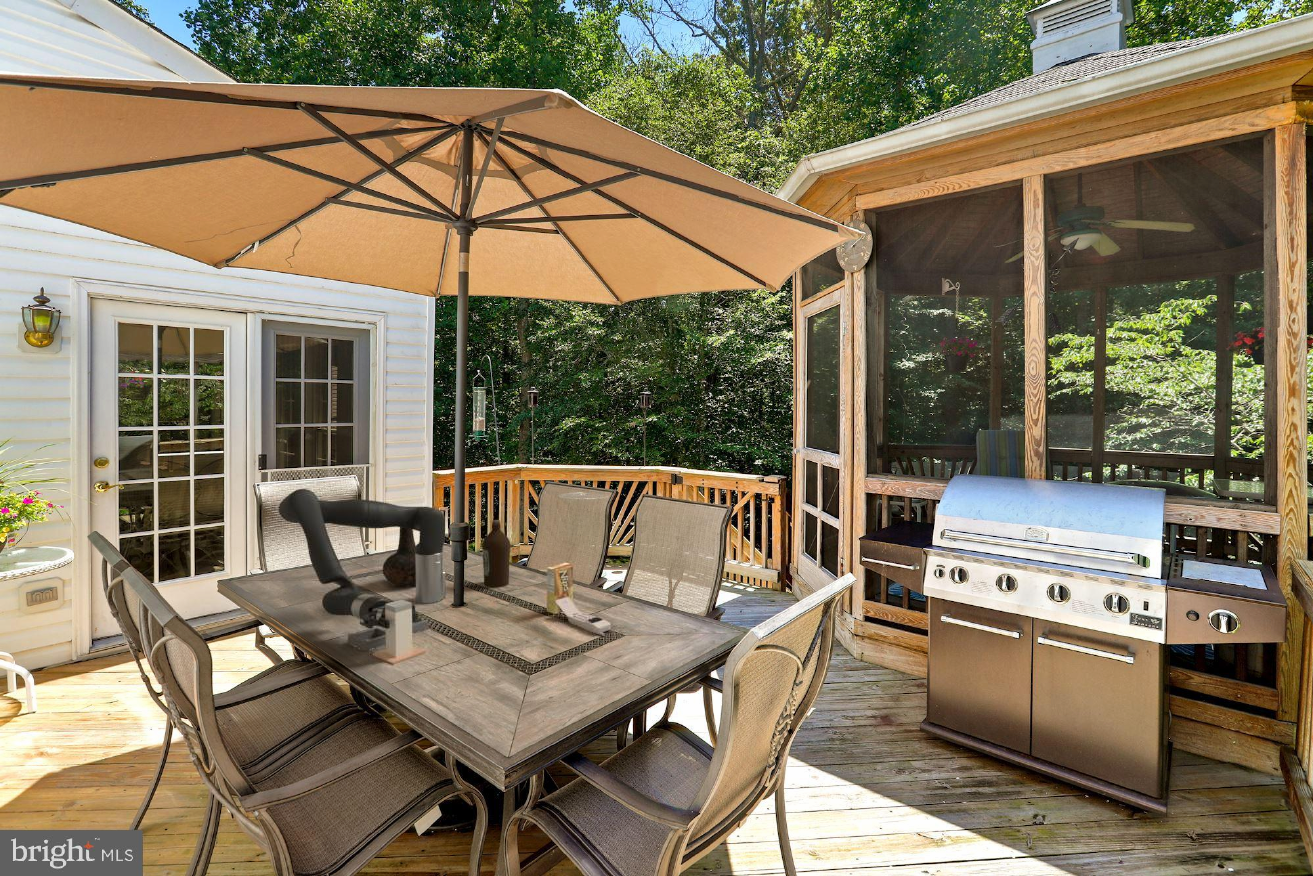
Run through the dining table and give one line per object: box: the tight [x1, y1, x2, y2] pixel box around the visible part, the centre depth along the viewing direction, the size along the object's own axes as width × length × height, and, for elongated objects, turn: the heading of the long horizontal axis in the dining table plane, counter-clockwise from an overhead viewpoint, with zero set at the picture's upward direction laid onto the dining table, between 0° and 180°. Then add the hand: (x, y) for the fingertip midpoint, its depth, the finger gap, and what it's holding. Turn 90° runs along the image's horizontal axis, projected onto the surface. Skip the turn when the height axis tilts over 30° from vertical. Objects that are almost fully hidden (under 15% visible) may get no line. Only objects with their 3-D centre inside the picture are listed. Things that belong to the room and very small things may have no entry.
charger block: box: [385, 599, 413, 657], centre depth 174 cm, size 5×5×14 cm
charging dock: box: [347, 617, 429, 652], centre depth 188 cm, size 21×9×3 cm, turn 145°
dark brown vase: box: [382, 527, 417, 587], centre depth 242 cm, size 18×18×28 cm
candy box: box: [546, 562, 574, 615], centre depth 213 cm, size 9×4×15 cm, turn 145°
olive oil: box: [481, 519, 511, 588], centre depth 242 cm, size 11×11×25 cm
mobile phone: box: [555, 597, 611, 637], centre depth 199 cm, size 6×6×25 cm
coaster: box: [372, 645, 427, 665], centre depth 175 cm, size 10×10×1 cm
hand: (402, 620), depth 173 cm, fingers open, 8 cm apart
